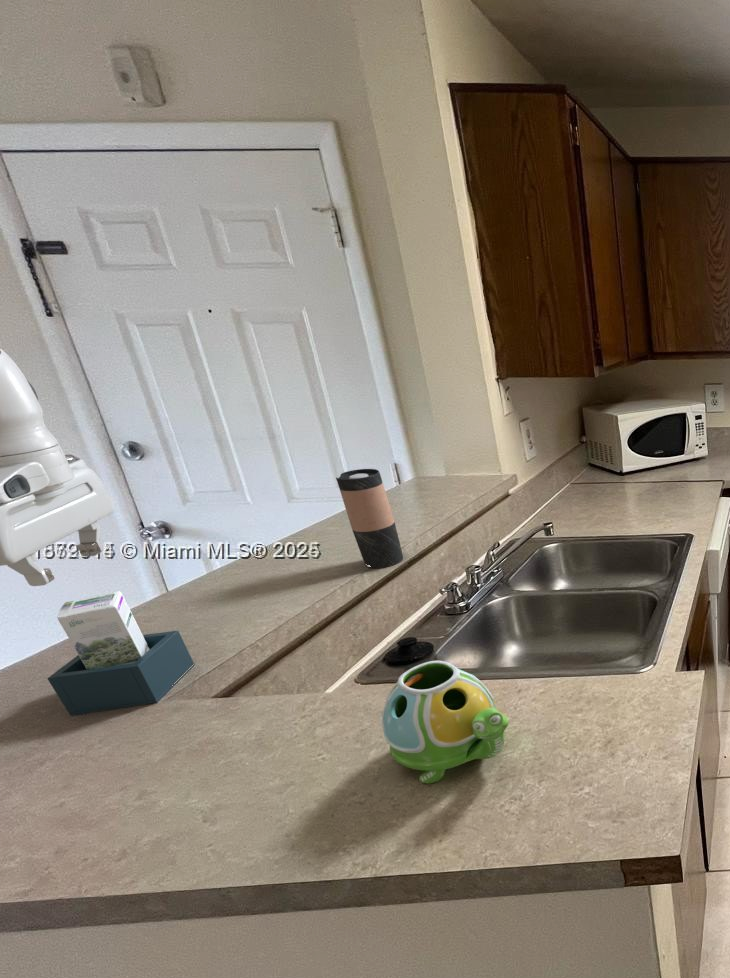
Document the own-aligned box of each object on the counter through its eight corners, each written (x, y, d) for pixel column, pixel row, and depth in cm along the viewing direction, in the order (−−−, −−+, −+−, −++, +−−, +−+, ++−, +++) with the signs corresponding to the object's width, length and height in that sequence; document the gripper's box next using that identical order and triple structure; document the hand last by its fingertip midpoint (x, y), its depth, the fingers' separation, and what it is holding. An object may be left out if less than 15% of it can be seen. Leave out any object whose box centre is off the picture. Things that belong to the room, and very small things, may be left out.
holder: (69, 715, 87) (46, 678, 84) (116, 675, 95) (97, 640, 93) (157, 702, 90) (137, 666, 87) (195, 664, 98) (178, 630, 96)
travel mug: (412, 559, 135) (387, 472, 126) (375, 572, 129) (347, 481, 120) (393, 551, 138) (367, 466, 130) (356, 564, 132) (327, 475, 124)
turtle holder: (468, 811, 72) (444, 732, 67) (372, 762, 79) (345, 687, 74) (549, 745, 82) (533, 672, 77) (458, 706, 89) (438, 637, 84)
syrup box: (162, 669, 96) (120, 588, 90) (158, 688, 92) (114, 604, 86) (110, 683, 93) (63, 600, 87) (104, 703, 89) (54, 617, 83)
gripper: (48, 452, 86) (92, 541, 92) (-91, 499, 69) (-25, 606, 74) (105, 449, 88) (145, 537, 94) (-16, 494, 71) (43, 599, 76)
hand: (69, 568), depth 84 cm, fingers open, 8 cm apart
